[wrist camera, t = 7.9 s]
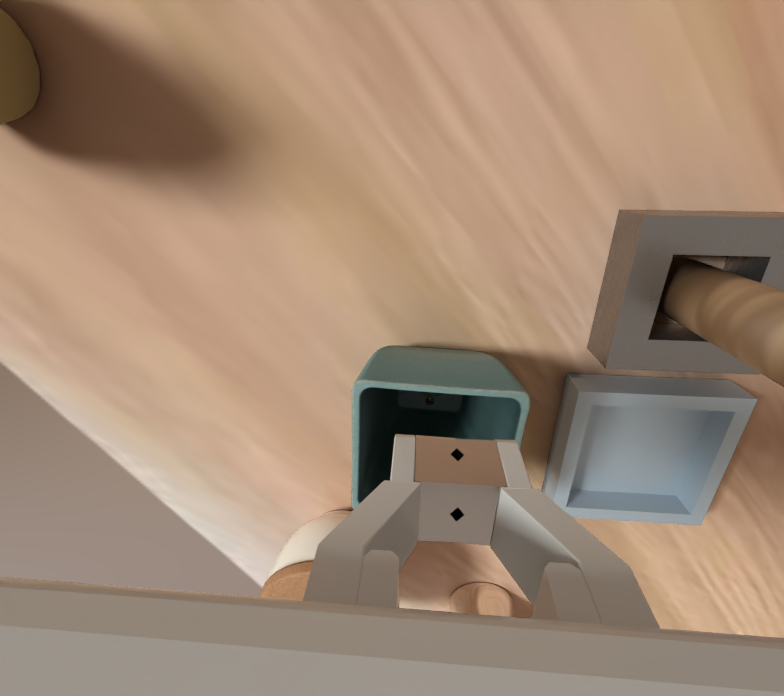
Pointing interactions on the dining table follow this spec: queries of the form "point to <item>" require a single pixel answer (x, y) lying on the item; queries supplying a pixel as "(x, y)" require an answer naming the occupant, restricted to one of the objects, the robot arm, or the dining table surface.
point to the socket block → (648, 275)
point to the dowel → (728, 313)
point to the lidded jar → (300, 558)
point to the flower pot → (429, 405)
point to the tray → (643, 446)
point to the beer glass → (481, 600)
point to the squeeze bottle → (16, 71)
